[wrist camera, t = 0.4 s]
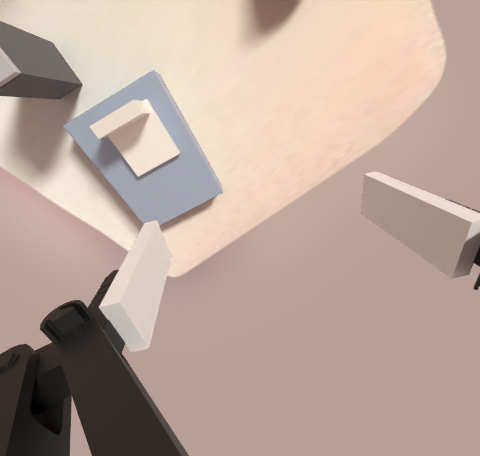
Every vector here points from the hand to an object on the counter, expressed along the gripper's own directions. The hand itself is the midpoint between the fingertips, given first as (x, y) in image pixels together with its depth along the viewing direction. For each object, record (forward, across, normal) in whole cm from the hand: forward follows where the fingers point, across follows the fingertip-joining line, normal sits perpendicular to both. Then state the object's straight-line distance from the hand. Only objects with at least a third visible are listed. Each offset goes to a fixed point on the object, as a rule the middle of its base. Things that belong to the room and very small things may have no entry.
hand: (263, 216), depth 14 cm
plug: (+26, -21, +14) cm, 36 cm away
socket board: (+26, -12, +1) cm, 29 cm away
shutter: (+22, -12, +4) cm, 25 cm away
